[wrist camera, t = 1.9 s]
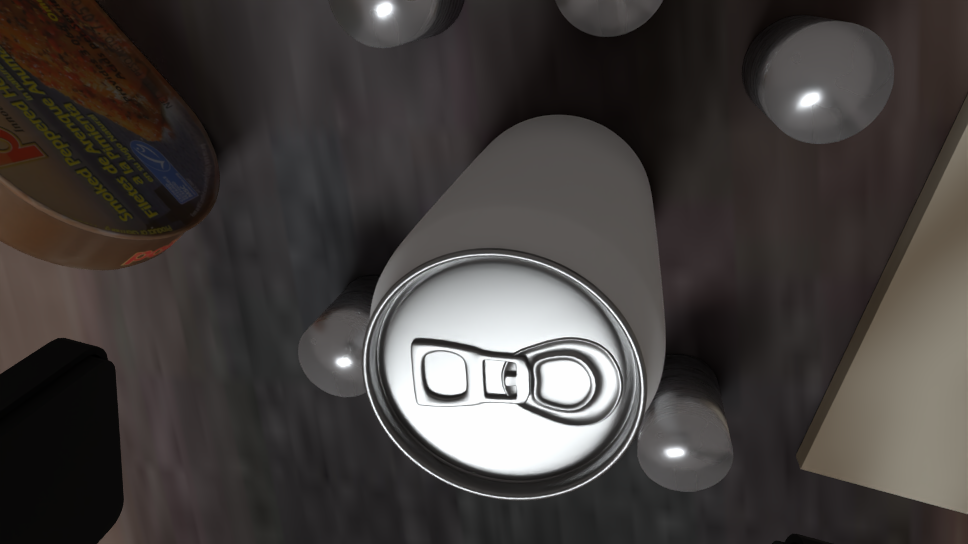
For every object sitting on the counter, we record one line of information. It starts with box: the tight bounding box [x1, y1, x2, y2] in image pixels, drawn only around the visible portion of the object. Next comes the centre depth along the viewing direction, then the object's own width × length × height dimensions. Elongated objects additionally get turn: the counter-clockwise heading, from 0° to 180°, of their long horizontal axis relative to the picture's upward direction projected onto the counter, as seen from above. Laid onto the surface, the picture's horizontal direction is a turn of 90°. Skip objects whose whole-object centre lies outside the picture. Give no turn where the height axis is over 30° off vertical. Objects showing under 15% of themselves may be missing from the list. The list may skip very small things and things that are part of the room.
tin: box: [0, 0, 220, 270], centre depth 22 cm, size 15×3×8 cm, turn 39°
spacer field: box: [298, 0, 894, 492], centre depth 22 cm, size 15×18×4 cm
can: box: [362, 115, 666, 500], centre depth 19 cm, size 6×6×12 cm
